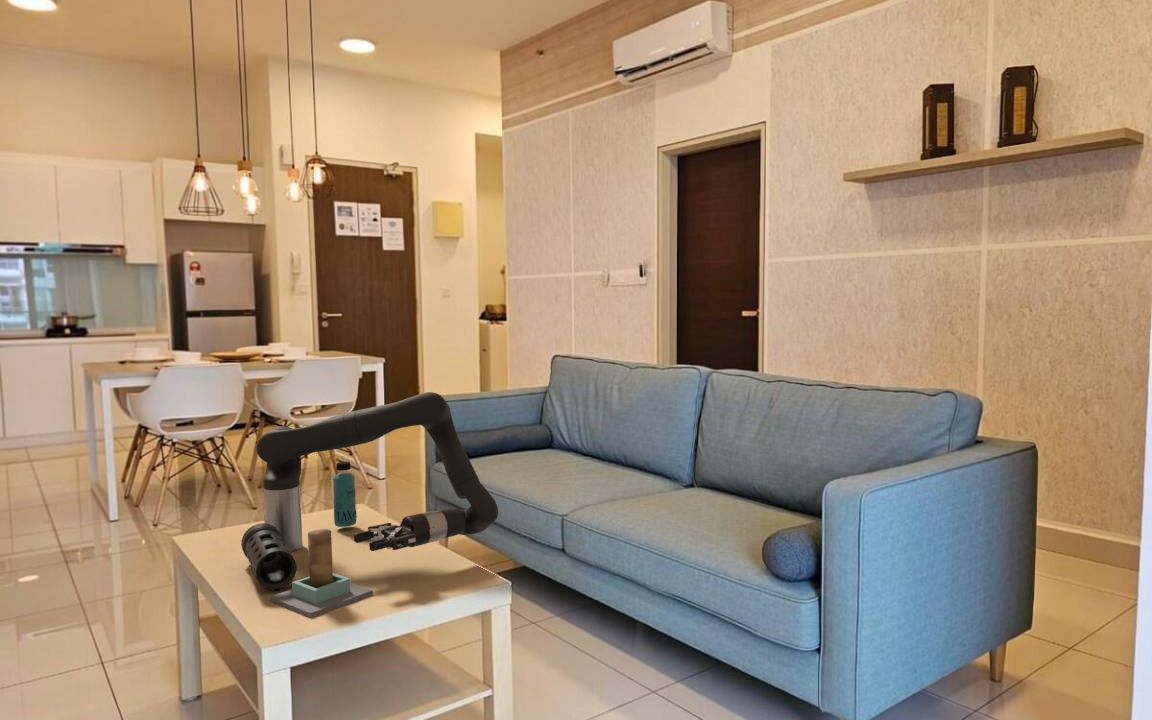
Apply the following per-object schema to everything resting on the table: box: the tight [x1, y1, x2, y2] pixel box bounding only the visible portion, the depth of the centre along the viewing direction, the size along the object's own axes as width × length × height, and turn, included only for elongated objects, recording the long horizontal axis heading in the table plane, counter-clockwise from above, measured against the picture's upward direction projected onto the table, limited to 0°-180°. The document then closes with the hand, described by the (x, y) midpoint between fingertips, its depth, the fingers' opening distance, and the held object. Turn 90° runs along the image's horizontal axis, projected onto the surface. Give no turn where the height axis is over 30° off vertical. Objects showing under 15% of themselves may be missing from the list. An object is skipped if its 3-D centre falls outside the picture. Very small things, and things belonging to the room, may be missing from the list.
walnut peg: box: [307, 528, 334, 588], centre depth 175 cm, size 5×5×14 cm
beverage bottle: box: [332, 461, 358, 528], centre depth 229 cm, size 6×7×20 cm
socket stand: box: [269, 572, 374, 619], centre depth 175 cm, size 16×16×4 cm
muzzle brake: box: [240, 523, 298, 593], centre depth 191 cm, size 10×28×10 cm, turn 29°
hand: (362, 542), depth 181 cm, fingers open, 8 cm apart
